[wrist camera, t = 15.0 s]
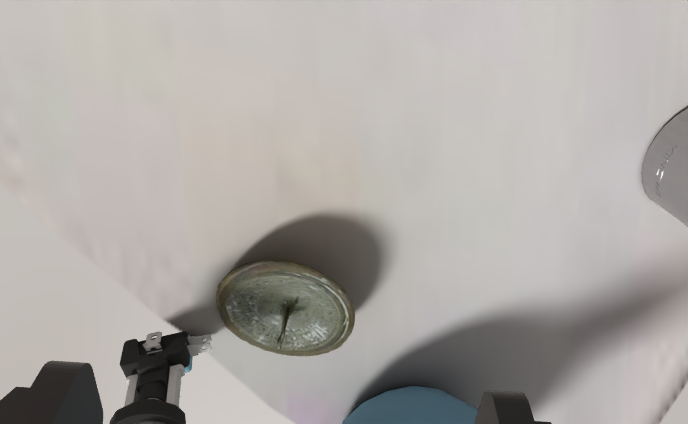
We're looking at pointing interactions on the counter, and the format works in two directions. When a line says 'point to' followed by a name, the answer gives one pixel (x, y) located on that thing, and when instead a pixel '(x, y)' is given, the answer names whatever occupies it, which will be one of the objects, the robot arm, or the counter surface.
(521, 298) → the counter surface
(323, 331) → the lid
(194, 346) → the push button
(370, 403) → the vase
